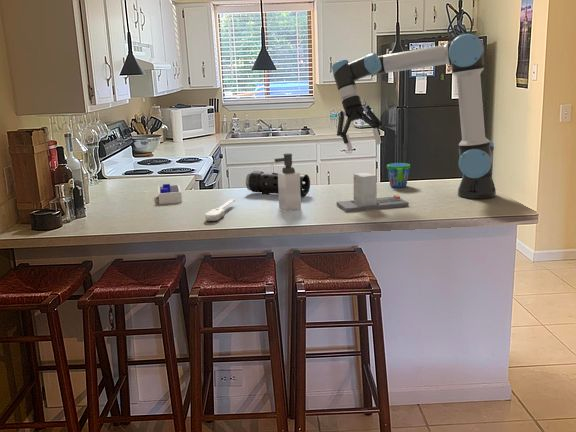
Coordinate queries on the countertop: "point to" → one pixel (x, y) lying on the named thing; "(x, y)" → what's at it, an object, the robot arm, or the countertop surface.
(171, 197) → the box
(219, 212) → the white spoon
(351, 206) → the socket strip
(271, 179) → the muzzle brake
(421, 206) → the countertop surface
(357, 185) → the small box
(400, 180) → the snack cup
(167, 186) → the cable clip
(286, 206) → the soap dispenser
